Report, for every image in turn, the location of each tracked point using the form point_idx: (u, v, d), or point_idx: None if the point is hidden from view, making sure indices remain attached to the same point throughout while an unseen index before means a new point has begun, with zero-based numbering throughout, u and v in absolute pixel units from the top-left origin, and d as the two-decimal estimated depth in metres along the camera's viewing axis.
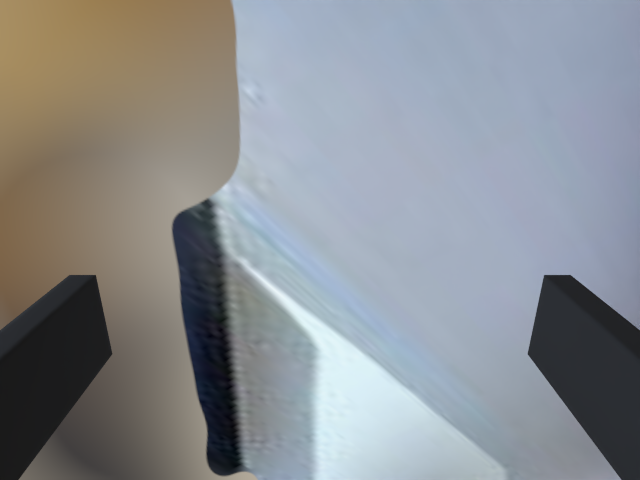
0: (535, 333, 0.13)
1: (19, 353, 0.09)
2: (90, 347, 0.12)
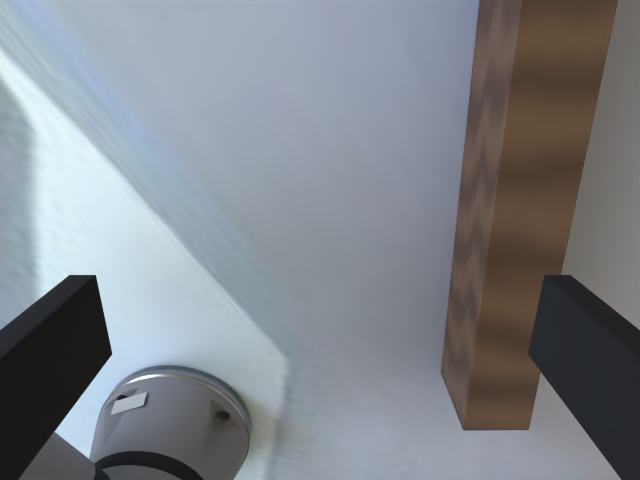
0: (534, 333, 0.13)
1: (19, 353, 0.09)
2: (90, 347, 0.12)
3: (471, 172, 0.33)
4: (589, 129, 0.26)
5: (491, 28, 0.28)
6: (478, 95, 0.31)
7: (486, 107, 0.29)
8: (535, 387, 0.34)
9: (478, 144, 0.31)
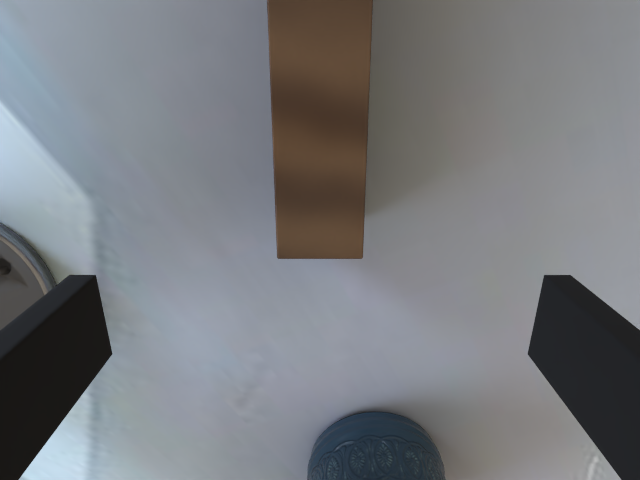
0: (535, 333, 0.13)
1: (19, 353, 0.09)
2: (90, 347, 0.12)
3: None
4: None
5: None
6: None
7: None
8: (362, 191, 0.25)
9: None
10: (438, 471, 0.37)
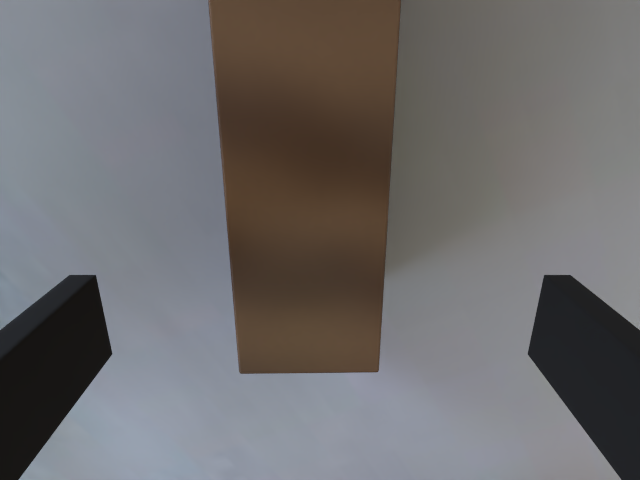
0: (534, 333, 0.13)
1: (19, 353, 0.09)
2: (90, 347, 0.12)
3: None
4: None
5: None
6: None
7: None
8: (379, 270, 0.15)
9: None
10: None
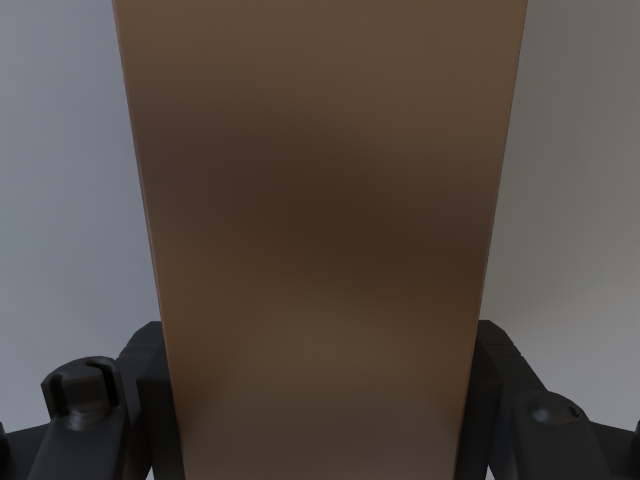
0: None
1: None
2: None
3: None
4: None
5: None
6: None
7: None
8: (452, 436, 0.08)
9: None
10: None
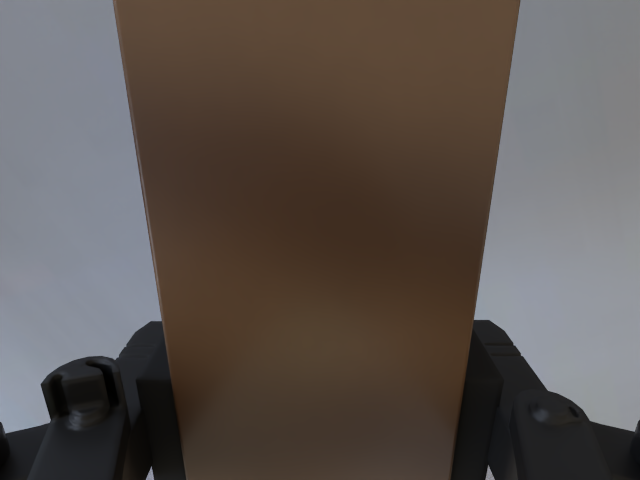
0: None
1: None
2: None
3: None
4: None
5: None
6: None
7: None
8: (449, 429, 0.08)
9: None
10: None
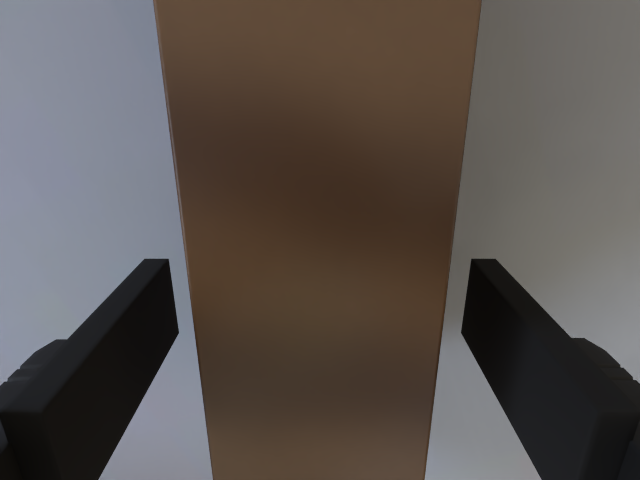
0: (465, 313, 0.14)
1: (122, 323, 0.10)
2: (165, 324, 0.13)
3: None
4: None
5: None
6: None
7: None
8: (429, 376, 0.10)
9: None
10: None
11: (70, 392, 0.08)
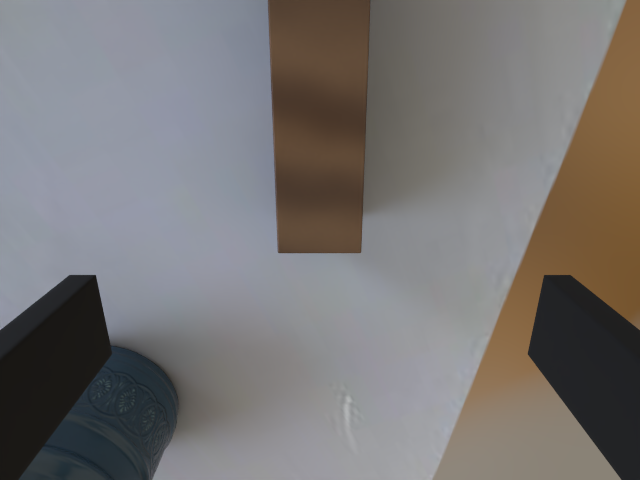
0: (535, 333, 0.13)
1: (19, 353, 0.09)
2: (90, 347, 0.12)
3: None
4: None
5: None
6: None
7: None
8: (360, 187, 0.26)
9: None
10: (139, 401, 0.35)
11: None
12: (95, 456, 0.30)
